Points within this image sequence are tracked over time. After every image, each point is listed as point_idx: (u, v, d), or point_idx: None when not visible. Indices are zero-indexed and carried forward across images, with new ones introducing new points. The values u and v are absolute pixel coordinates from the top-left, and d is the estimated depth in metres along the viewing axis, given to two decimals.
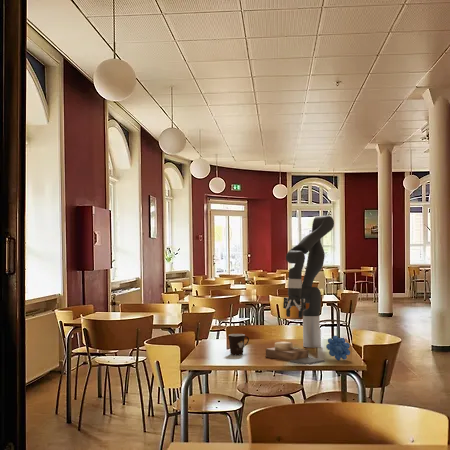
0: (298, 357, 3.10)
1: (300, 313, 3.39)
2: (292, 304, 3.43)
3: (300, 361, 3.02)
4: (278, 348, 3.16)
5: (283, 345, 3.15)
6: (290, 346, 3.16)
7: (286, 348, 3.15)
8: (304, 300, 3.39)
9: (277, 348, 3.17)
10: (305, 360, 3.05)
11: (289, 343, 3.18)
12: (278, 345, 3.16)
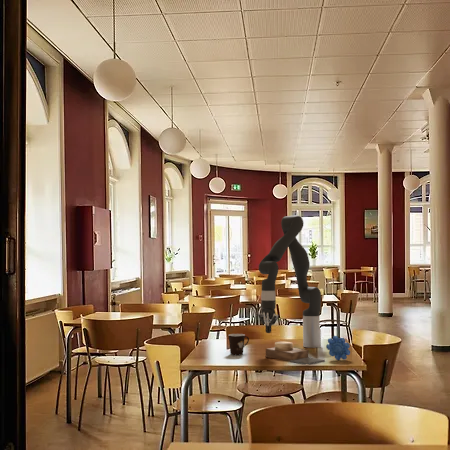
0: (298, 357, 3.10)
1: (268, 328, 3.26)
2: None
3: (300, 361, 3.02)
4: (278, 348, 3.16)
5: (283, 345, 3.15)
6: (290, 346, 3.16)
7: (286, 348, 3.15)
8: (276, 318, 3.24)
9: (277, 348, 3.17)
10: (305, 360, 3.05)
11: (289, 343, 3.18)
12: (278, 345, 3.16)
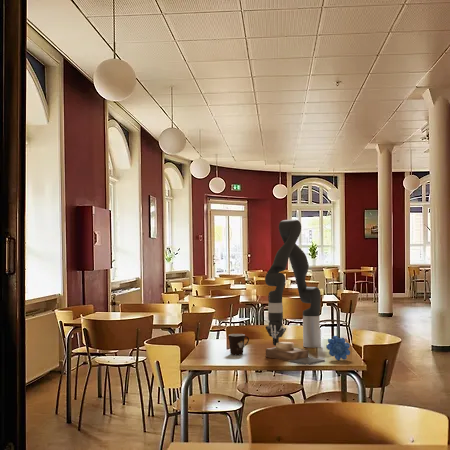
0: (298, 357, 3.10)
1: (276, 341, 3.22)
2: None
3: (300, 361, 3.02)
4: (279, 348, 3.16)
5: (284, 345, 3.15)
6: (291, 346, 3.16)
7: (287, 348, 3.15)
8: (284, 330, 3.20)
9: (278, 348, 3.16)
10: (305, 360, 3.05)
11: (290, 343, 3.18)
12: (279, 345, 3.16)
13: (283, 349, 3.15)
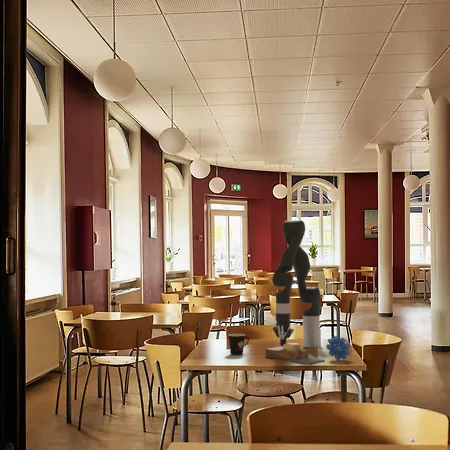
0: (298, 357, 3.10)
1: (283, 342, 3.18)
2: None
3: (300, 361, 3.02)
4: (286, 349, 3.12)
5: (291, 346, 3.11)
6: (299, 347, 3.12)
7: (294, 349, 3.11)
8: (291, 331, 3.16)
9: (285, 349, 3.12)
10: (305, 360, 3.05)
11: (298, 344, 3.13)
12: (286, 346, 3.12)
13: (291, 350, 3.11)
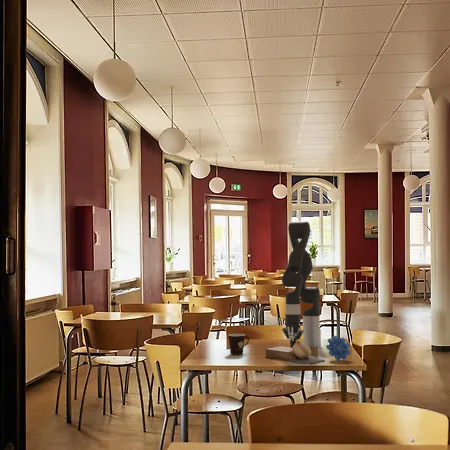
0: (298, 357, 3.10)
1: (293, 343, 3.14)
2: None
3: (300, 361, 3.02)
4: (295, 352, 3.07)
5: (300, 353, 3.06)
6: (306, 356, 3.07)
7: (301, 357, 3.06)
8: (302, 332, 3.11)
9: (294, 351, 3.08)
10: (305, 360, 3.05)
11: (307, 352, 3.08)
12: (296, 350, 3.07)
13: (298, 355, 3.07)
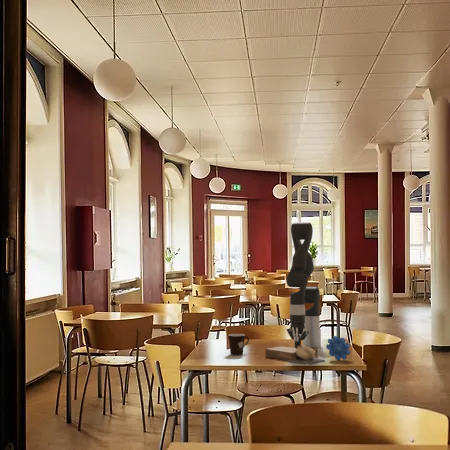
0: (298, 357, 3.10)
1: (298, 344, 3.11)
2: None
3: (300, 361, 3.02)
4: (298, 354, 3.06)
5: (304, 354, 3.04)
6: (311, 356, 3.05)
7: (306, 358, 3.04)
8: (306, 333, 3.09)
9: (298, 354, 3.06)
10: (305, 360, 3.05)
11: (311, 352, 3.06)
12: (299, 352, 3.05)
13: (302, 357, 3.04)
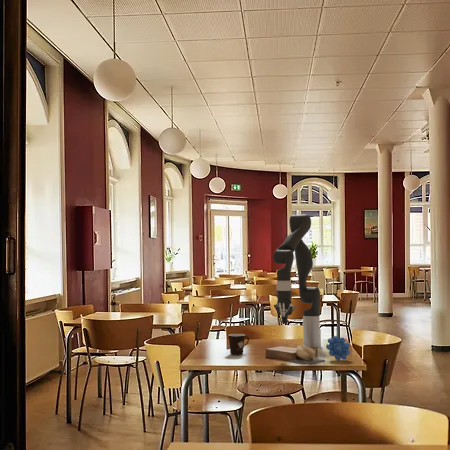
0: (298, 357, 3.10)
1: (285, 319, 3.18)
2: None
3: (300, 361, 3.02)
4: (298, 354, 3.06)
5: (304, 354, 3.04)
6: (311, 356, 3.05)
7: (306, 358, 3.04)
8: (293, 308, 3.16)
9: (298, 354, 3.06)
10: (305, 360, 3.05)
11: (311, 352, 3.06)
12: (299, 352, 3.05)
13: (302, 357, 3.04)
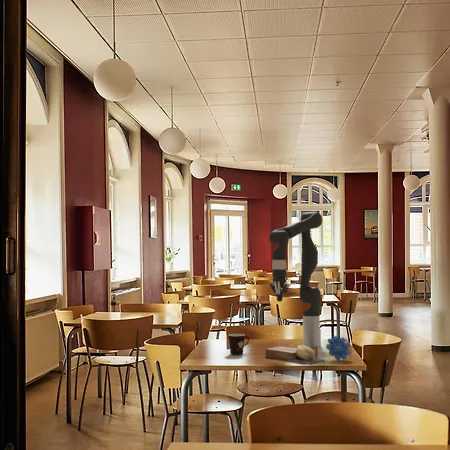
0: (298, 357, 3.10)
1: (280, 297, 3.32)
2: None
3: (300, 361, 3.02)
4: (298, 354, 3.06)
5: (304, 354, 3.04)
6: (311, 356, 3.05)
7: (306, 358, 3.04)
8: (287, 286, 3.29)
9: (298, 354, 3.06)
10: (305, 360, 3.05)
11: (311, 352, 3.06)
12: (299, 352, 3.05)
13: (302, 357, 3.04)
